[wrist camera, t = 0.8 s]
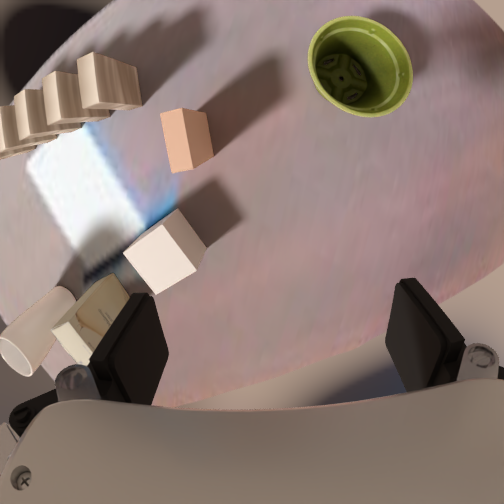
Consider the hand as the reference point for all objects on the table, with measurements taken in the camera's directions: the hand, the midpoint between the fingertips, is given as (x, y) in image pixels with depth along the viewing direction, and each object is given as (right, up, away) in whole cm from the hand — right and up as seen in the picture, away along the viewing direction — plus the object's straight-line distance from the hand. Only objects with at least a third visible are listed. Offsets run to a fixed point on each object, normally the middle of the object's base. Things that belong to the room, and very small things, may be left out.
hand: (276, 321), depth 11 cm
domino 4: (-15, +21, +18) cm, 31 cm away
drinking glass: (-31, -5, +30) cm, 43 cm away
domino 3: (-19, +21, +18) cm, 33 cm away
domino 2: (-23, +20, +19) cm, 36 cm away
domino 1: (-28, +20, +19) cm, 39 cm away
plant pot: (+9, +21, +17) cm, 29 cm away
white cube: (-10, +4, +25) cm, 28 cm away
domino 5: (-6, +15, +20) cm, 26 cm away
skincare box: (-21, -3, +29) cm, 36 cm away
